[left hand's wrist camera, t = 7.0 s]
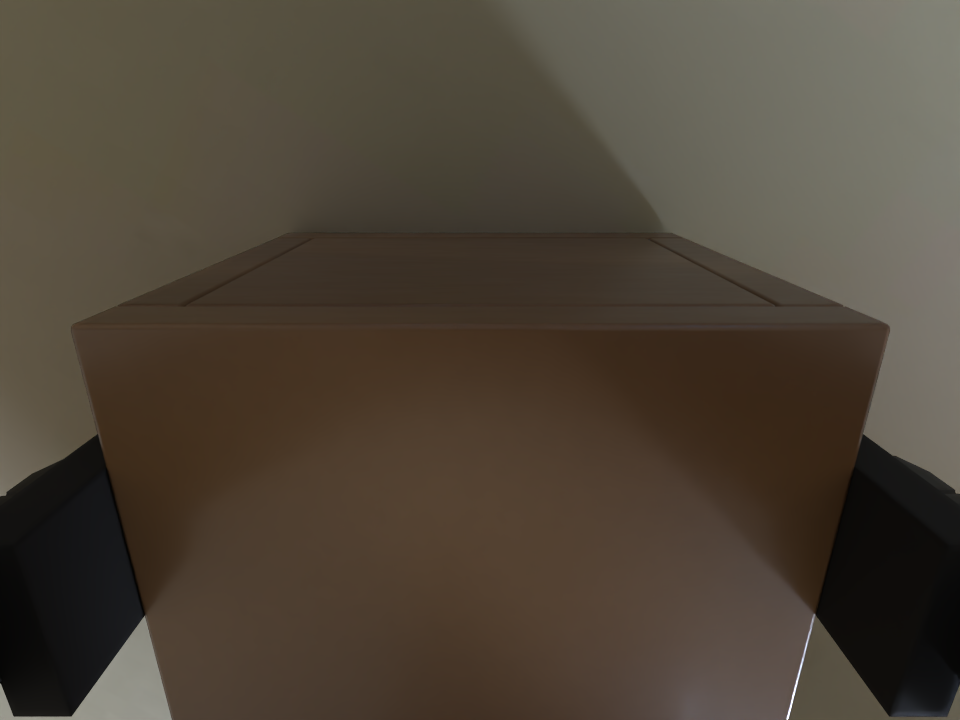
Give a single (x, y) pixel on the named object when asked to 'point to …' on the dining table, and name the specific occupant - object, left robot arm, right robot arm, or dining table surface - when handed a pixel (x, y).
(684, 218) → the dining table surface
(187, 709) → the cabinet
